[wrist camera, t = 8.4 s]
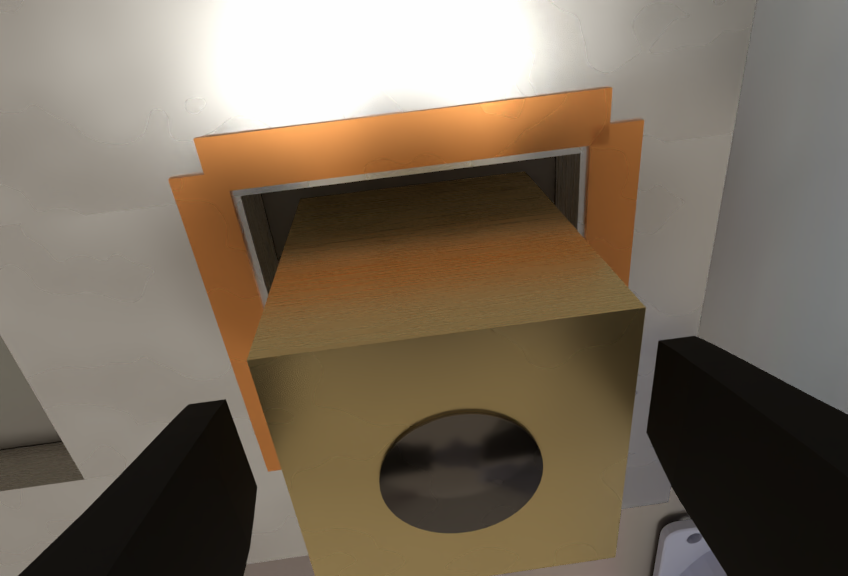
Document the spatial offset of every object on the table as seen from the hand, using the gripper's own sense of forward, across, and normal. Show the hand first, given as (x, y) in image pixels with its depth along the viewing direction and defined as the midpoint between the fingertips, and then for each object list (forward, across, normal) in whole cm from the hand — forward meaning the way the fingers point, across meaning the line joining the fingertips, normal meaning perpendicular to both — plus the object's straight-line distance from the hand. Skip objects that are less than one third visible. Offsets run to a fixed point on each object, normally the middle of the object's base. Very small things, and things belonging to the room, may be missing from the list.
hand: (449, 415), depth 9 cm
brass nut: (+5, 0, 0) cm, 5 cm away
